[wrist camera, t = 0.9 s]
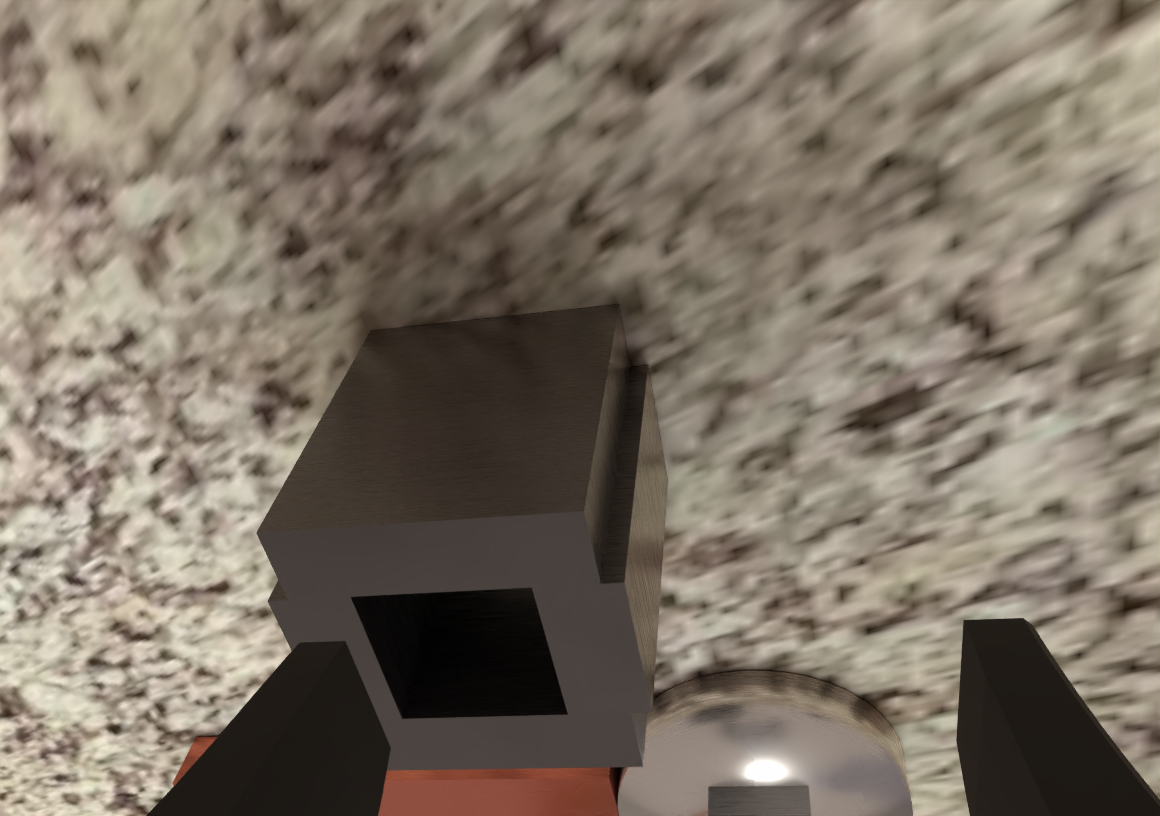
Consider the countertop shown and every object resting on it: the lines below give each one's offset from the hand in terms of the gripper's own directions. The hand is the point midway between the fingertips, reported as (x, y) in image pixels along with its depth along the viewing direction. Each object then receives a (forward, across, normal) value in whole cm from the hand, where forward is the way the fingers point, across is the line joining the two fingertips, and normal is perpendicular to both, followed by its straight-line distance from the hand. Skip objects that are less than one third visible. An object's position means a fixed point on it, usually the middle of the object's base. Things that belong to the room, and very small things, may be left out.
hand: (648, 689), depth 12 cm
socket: (+9, +3, +2) cm, 10 cm away
